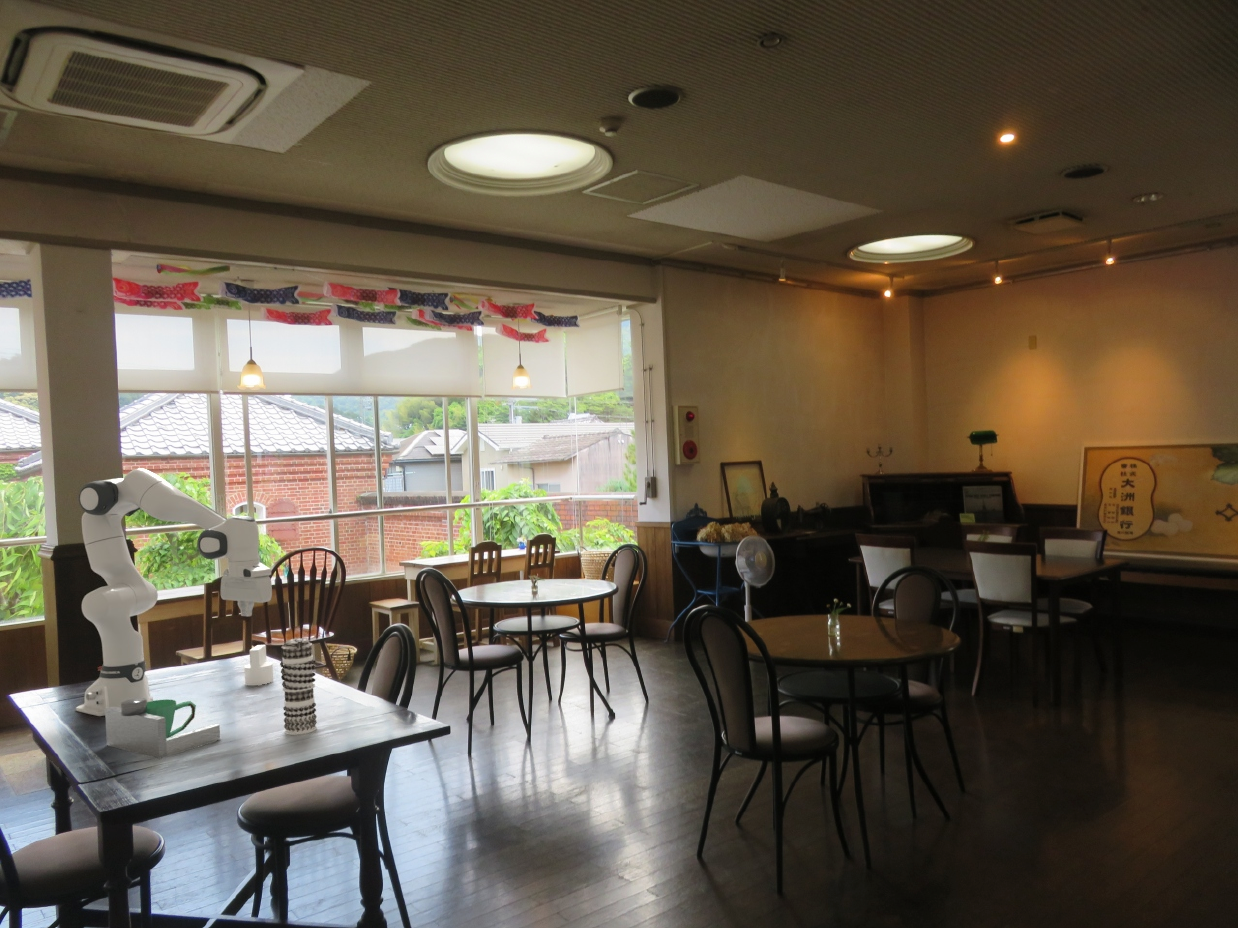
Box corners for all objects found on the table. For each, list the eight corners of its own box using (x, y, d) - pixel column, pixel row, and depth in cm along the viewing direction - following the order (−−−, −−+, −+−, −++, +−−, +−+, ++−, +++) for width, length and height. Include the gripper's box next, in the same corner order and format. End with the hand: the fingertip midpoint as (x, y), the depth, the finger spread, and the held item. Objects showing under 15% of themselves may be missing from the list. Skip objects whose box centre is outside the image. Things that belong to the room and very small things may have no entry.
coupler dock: (167, 727, 257) (165, 682, 257) (220, 739, 244) (218, 691, 244) (99, 747, 241) (96, 698, 241) (151, 761, 228) (149, 709, 228)
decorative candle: (303, 736, 244) (299, 644, 244) (275, 733, 247) (271, 642, 247) (325, 726, 253) (321, 637, 252) (298, 724, 256) (294, 636, 256)
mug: (137, 749, 239) (135, 711, 239) (137, 739, 247) (135, 703, 247) (198, 738, 246) (196, 702, 246) (196, 729, 254) (194, 694, 254)
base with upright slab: (249, 680, 313) (248, 645, 313) (276, 678, 314) (274, 643, 314) (241, 686, 304) (240, 651, 304) (269, 684, 305) (267, 649, 305)
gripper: (213, 569, 273) (215, 615, 273) (256, 572, 261) (258, 619, 262) (232, 567, 278) (234, 612, 278) (274, 569, 267) (276, 616, 267)
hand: (246, 615), depth 270 cm, fingers closed
